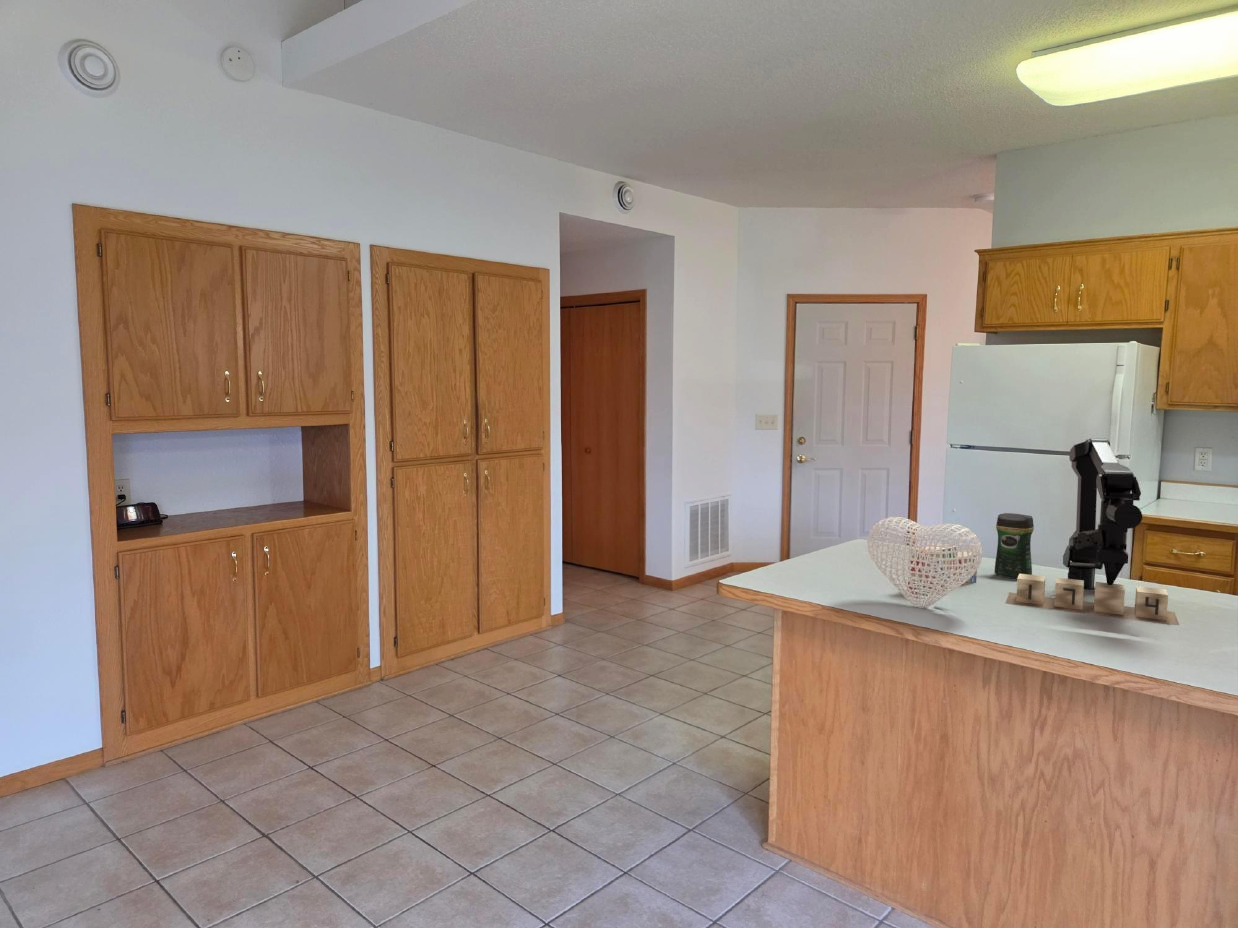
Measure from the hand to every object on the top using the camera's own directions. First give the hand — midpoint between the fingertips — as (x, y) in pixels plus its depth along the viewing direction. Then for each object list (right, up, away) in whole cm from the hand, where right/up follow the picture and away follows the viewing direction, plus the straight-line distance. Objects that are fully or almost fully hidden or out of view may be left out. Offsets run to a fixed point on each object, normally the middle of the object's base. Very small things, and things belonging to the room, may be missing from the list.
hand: (1109, 584), depth 191 cm
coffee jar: (-4, -4, +39) cm, 39 cm away
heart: (-44, -7, +6) cm, 45 cm away
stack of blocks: (-31, -5, +25) cm, 40 cm away
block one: (-15, -5, +9) cm, 18 cm away
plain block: (0, -6, +1) cm, 6 cm away
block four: (+7, -7, -4) cm, 11 cm away
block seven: (-7, -6, +5) cm, 11 cm away
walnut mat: (-4, -7, +3) cm, 8 cm away
